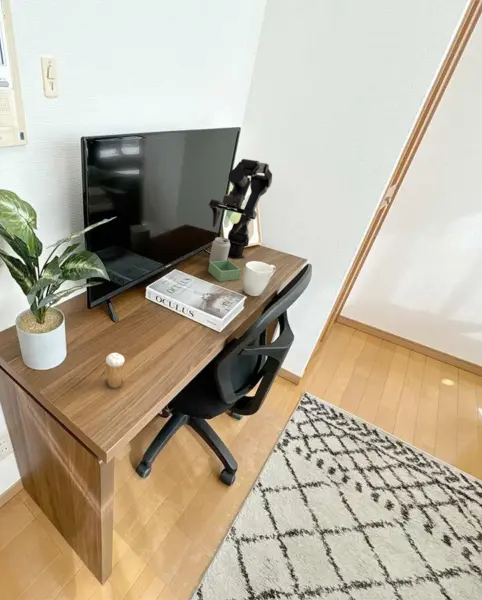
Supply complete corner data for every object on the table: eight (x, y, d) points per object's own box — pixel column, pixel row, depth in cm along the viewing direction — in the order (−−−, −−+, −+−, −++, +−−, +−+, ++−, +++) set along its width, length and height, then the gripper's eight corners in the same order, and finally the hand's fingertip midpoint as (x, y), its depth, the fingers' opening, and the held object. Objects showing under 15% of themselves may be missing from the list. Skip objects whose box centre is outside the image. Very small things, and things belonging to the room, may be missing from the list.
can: (227, 268, 142) (233, 243, 135) (210, 267, 142) (215, 242, 135) (223, 261, 148) (228, 236, 142) (207, 260, 148) (212, 235, 141)
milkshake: (119, 394, 79) (121, 364, 73) (101, 384, 81) (102, 355, 76) (129, 382, 82) (131, 353, 77) (111, 374, 84) (112, 345, 79)
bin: (226, 269, 141) (228, 259, 139) (238, 279, 134) (241, 269, 131) (207, 271, 138) (209, 261, 136) (219, 281, 131) (221, 271, 129)
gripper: (211, 180, 124) (196, 219, 127) (258, 190, 115) (241, 231, 117) (219, 189, 134) (205, 225, 136) (263, 199, 124) (247, 237, 127)
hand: (223, 229), depth 129 cm, fingers open, 9 cm apart
